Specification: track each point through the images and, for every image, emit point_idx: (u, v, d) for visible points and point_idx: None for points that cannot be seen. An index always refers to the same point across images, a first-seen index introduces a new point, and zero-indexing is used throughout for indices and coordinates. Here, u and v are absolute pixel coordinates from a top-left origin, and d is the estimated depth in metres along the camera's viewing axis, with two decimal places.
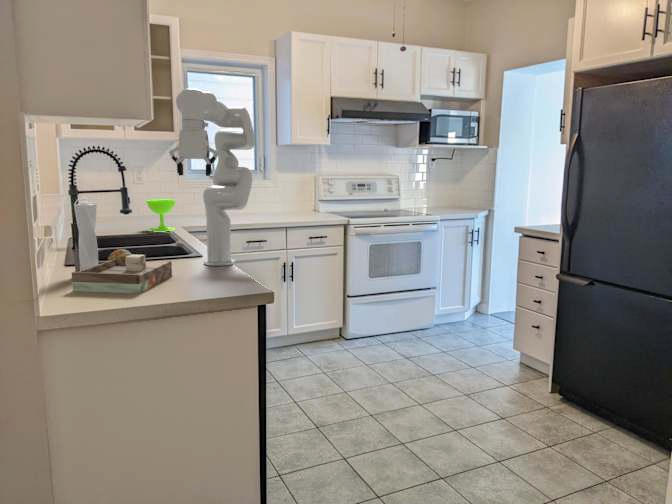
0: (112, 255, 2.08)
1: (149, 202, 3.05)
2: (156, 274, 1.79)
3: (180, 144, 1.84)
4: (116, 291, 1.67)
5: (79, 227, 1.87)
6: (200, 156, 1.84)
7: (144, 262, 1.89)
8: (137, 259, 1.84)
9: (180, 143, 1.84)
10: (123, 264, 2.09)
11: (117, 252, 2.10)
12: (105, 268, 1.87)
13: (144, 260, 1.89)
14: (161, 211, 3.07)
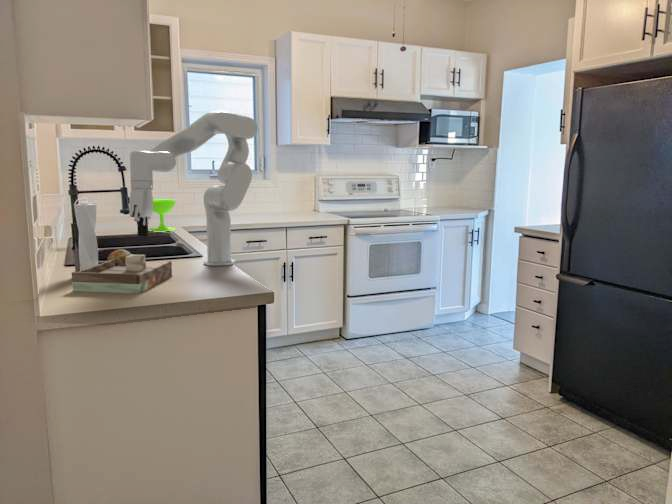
0: (112, 255, 2.08)
1: None
2: (156, 274, 1.79)
3: (143, 204, 1.87)
4: (116, 291, 1.67)
5: (79, 227, 1.87)
6: (151, 214, 1.95)
7: (144, 262, 1.89)
8: (137, 259, 1.84)
9: (143, 203, 1.87)
10: (123, 264, 2.08)
11: (117, 252, 2.09)
12: (105, 268, 1.87)
13: (144, 260, 1.89)
14: (161, 211, 3.07)
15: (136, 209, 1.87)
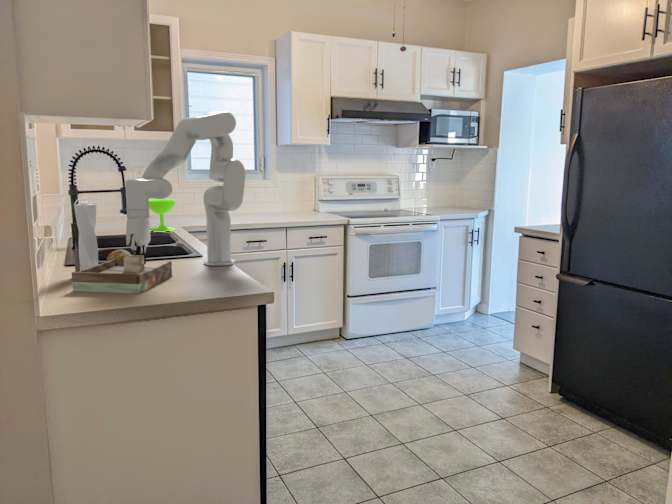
0: (111, 255, 2.08)
1: (149, 202, 3.05)
2: (156, 274, 1.79)
3: (139, 233, 1.85)
4: (116, 291, 1.67)
5: (79, 227, 1.87)
6: (148, 241, 1.93)
7: (142, 263, 1.88)
8: (135, 260, 1.83)
9: (139, 232, 1.85)
10: (122, 264, 2.08)
11: (116, 252, 2.09)
12: (105, 268, 1.87)
13: (142, 261, 1.88)
14: (161, 211, 3.07)
15: (133, 238, 1.85)
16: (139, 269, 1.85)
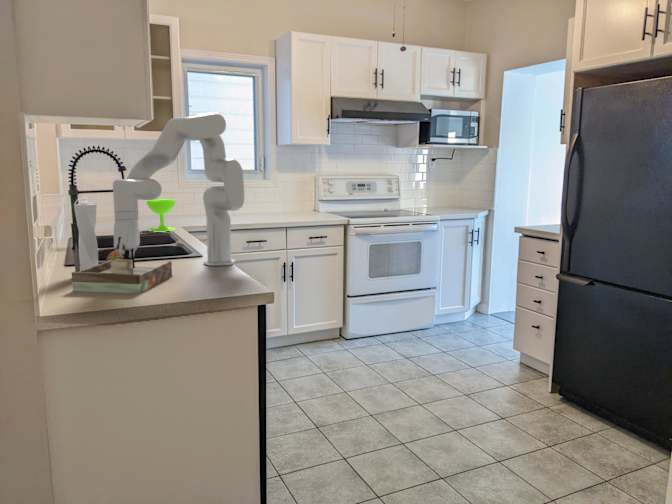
0: (111, 255, 2.08)
1: (149, 202, 3.05)
2: (156, 274, 1.79)
3: (127, 236, 1.77)
4: (116, 291, 1.67)
5: (79, 227, 1.87)
6: (137, 245, 1.84)
7: (131, 267, 1.79)
8: (123, 264, 1.75)
9: (127, 235, 1.77)
10: None
11: (116, 252, 2.09)
12: (105, 268, 1.87)
13: (131, 265, 1.79)
14: (161, 211, 3.07)
15: (121, 241, 1.77)
16: None
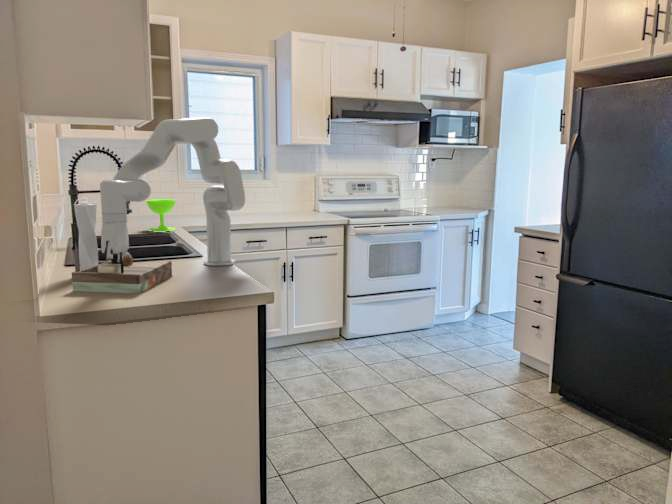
0: None
1: (149, 202, 3.05)
2: (156, 274, 1.79)
3: (116, 240, 1.69)
4: (116, 291, 1.67)
5: (79, 227, 1.87)
6: (126, 248, 1.77)
7: (119, 272, 1.72)
8: (111, 269, 1.67)
9: (116, 238, 1.69)
10: None
11: None
12: None
13: (119, 270, 1.71)
14: (161, 211, 3.07)
15: (109, 245, 1.69)
16: None
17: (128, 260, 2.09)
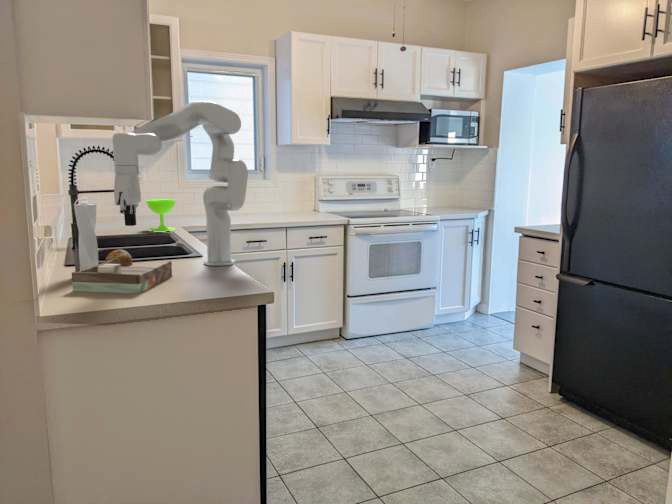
0: (110, 255, 2.08)
1: (149, 202, 3.05)
2: (156, 274, 1.79)
3: (128, 191, 1.74)
4: (116, 291, 1.67)
5: (79, 227, 1.87)
6: (138, 201, 1.81)
7: (119, 272, 1.72)
8: (111, 269, 1.67)
9: (128, 190, 1.74)
10: (121, 264, 2.08)
11: (115, 252, 2.09)
12: None
13: (119, 270, 1.71)
14: (161, 211, 3.07)
15: (122, 196, 1.74)
16: None
17: (127, 260, 2.09)
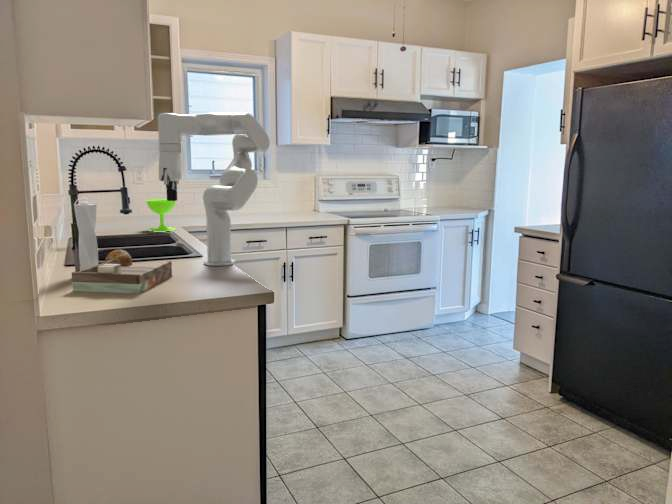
0: (110, 255, 2.07)
1: (149, 202, 3.05)
2: (156, 274, 1.79)
3: (172, 167, 1.86)
4: (116, 291, 1.67)
5: (79, 227, 1.87)
6: (179, 178, 1.93)
7: (119, 272, 1.72)
8: (111, 269, 1.67)
9: (172, 166, 1.86)
10: (121, 265, 2.08)
11: (115, 252, 2.09)
12: None
13: (119, 270, 1.71)
14: (161, 211, 3.07)
15: (165, 172, 1.86)
16: None
17: (127, 260, 2.09)
